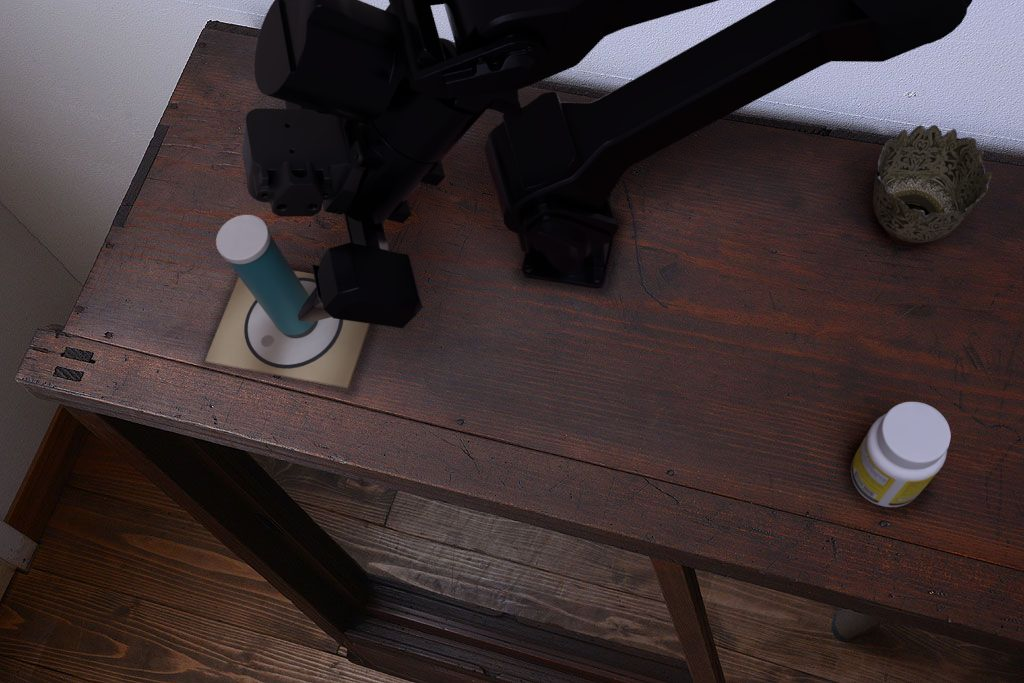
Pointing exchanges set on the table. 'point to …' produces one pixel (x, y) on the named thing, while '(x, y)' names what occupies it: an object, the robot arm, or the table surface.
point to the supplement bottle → (901, 454)
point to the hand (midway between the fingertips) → (294, 265)
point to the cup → (927, 184)
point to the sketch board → (286, 342)
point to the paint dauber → (265, 272)
